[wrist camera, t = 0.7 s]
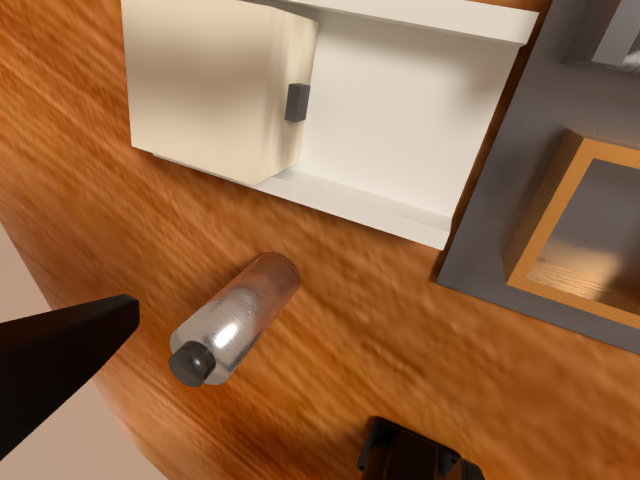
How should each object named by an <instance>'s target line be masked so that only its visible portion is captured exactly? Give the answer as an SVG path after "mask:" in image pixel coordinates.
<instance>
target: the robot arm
mask: <svg viewBox="0 0 640 480" xmlns="http://www.w3.org/2000/svg"><path fill="white" fill-rule="evenodd" d="M139 323H140V305H139V301H138V300H137V299H136V298H134V297H132V296H130V295H127V294H122V295H117V296H113V297H109V298H105V299H100V300H96V301H92V302H88V303H84V304H79V305H75V306H71V307H67V308H62V309H58V310H54V311H50V312H45V313H41V314H37V315H33V316H28V317H24V318H20V319H16V320H11V321H8V322H3V323H0V461H1V460H2V459H3V458H4V457H5V456H7V455H8V454H9V453H10V452H11V451H12V450H13V449H14V448H15V447H16V446H17V445H19V444H20V443H21V442H22V441H23V440H24V439H25V438H26V437H27V436H28V435H30V434H31V433H32V432H33V431H34V430H35V429H36V428H37V427H38V426H39V425H40V424H41V423H43V422H44V421H45V420H46V419H47V418H48V417H49V416H50V415H51V414H52V413H53V412H55V411H56V410H57V409H58V408H59V407H60V406H61V405H62V404H63V403H64V402H65V401H66V400H68V399H69V398H70V397H71V396H72V395H73V394H74V393H75V392H76V391H77V390H79V389H80V388H81V387H82V386H83V385H84V384H85V383H86V382H87V381H88V380H89V379H90V378H91V377H93V376H94V375H95V374H96V373H97V372H98V371H99V370H100V369H101V367H102V366H103V365H104V364H105V363H106V362H107V361H108V360H109V359H110V358H111V357H112V355H113V354H114V353H115V352H116V351H117V350H118V349H119V348H120V347H121V346H122V345H123V343H124V342H125V341H126V340H127V339H128V338H129V337H130V336H131V335H132V334H133V332H134V331H135V330H136V329H137V327H138V325H139ZM357 468H358V469H359V470H360V471H361V472H363V475H362V479H361V480H485V478H484V476H483V473H482V471H481V469H480V468H479V467H478V466H477V465H476V464H474V463H472V462H470V461H467V460H465V459H463V458H462V457H461V455H460V454H459V453H457V452H455V451H453V450H451V449H448V448H446V447H444V446H442V445H440V444H437V443H435V442H433V441H431V440H429V439H426V438H424V437H422V436H420V435H418V434H415V433H413V432H411V431H409V430H407V429H404V428H402V427H400V426H398V425H396V424H393V423H391V422H389V421H387V420H385V419H382V418H376V419H375V420H374V423H373V425H372V428H371V430H370V433H369V435H368V438H367V440H366V443H365V445H364V448H363V450H362V452H361V455H360V457H359V460H358V463H357Z"/></svg>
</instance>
